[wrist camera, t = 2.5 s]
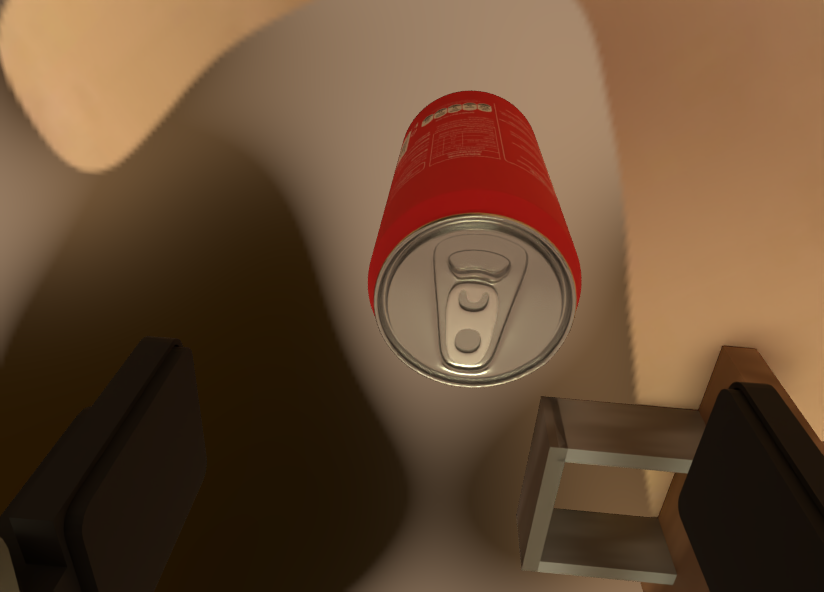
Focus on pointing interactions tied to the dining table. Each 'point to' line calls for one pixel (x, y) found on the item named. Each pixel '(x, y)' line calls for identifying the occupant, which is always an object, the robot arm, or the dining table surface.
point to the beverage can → (473, 248)
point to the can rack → (630, 448)
